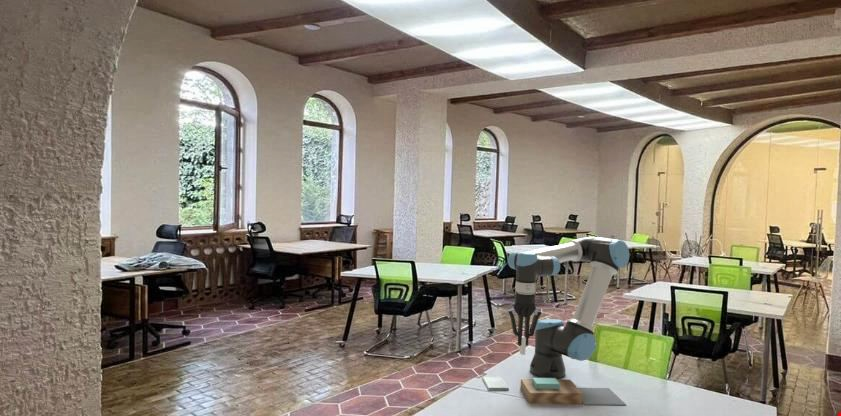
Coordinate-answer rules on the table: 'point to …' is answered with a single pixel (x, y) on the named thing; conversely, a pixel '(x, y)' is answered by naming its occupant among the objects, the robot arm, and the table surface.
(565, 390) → the deck
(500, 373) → the table surface
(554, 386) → the teal foam pad
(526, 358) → the table surface
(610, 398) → the mat
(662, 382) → the table surface
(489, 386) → the hard drive
